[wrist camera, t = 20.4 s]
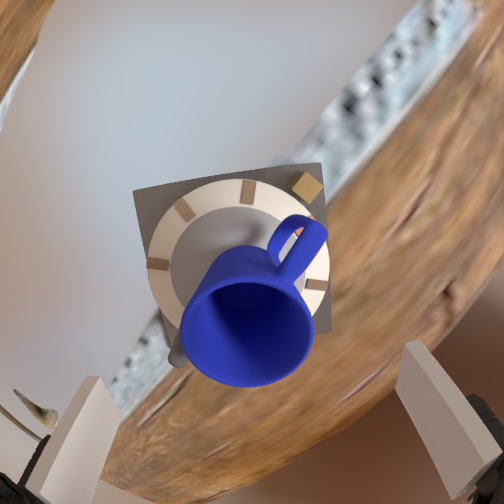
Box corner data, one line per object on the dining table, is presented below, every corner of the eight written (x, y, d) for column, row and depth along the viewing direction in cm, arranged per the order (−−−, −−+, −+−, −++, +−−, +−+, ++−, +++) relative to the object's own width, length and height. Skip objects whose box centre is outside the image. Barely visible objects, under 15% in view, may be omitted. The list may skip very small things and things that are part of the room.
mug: (333, 229, 26) (379, 266, 16) (260, 331, 28) (266, 403, 19) (255, 178, 24) (261, 186, 15) (186, 290, 27) (158, 353, 17)
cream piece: (145, 322, 30) (121, 365, 23) (168, 162, 25) (138, 162, 18) (296, 352, 31) (308, 400, 24) (345, 203, 27) (380, 218, 19)
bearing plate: (134, 190, 27) (123, 193, 24) (319, 162, 26) (328, 162, 24) (173, 347, 32) (167, 363, 29) (329, 329, 32) (336, 343, 29)
